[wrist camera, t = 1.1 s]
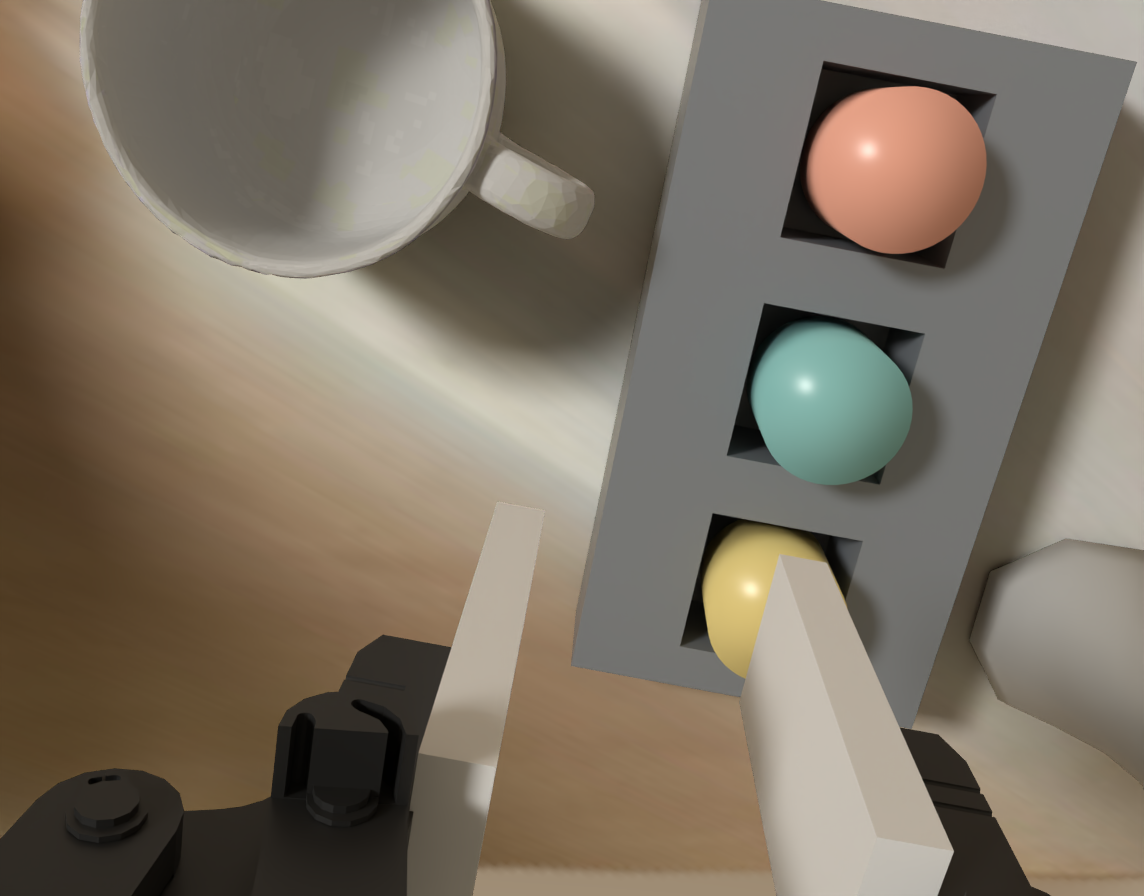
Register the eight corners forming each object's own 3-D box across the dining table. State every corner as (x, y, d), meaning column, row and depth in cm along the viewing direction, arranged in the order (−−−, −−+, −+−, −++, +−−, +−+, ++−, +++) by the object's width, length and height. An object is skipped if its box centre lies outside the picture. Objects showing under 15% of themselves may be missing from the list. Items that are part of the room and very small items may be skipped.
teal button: (732, 432, 34) (744, 470, 31) (764, 304, 33) (780, 327, 30) (861, 456, 35) (888, 497, 31) (898, 329, 33) (931, 356, 30)
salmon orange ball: (784, 222, 32) (803, 237, 29) (820, 75, 31) (845, 72, 27) (922, 249, 32) (958, 267, 29) (964, 103, 31) (1008, 103, 27)
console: (575, 611, 39) (571, 665, 36) (702, -7, 32) (713, -21, 29) (883, 668, 40) (911, 728, 36) (1077, 66, 32) (1137, 61, 29)
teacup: (135, 103, 34) (-3, 104, 27) (315, -194, 31) (216, -288, 24) (472, 360, 37) (432, 428, 29) (670, 106, 34) (683, 108, 26)
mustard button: (687, 616, 37) (694, 671, 33) (715, 503, 35) (725, 548, 32) (808, 639, 37) (828, 695, 33) (841, 527, 35) (865, 574, 32)
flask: (972, 718, 40) (1079, 908, 31) (961, 549, 38) (1072, 698, 28) (1166, 694, 39) (1337, 881, 30) (1166, 521, 37) (1351, 664, 28)
